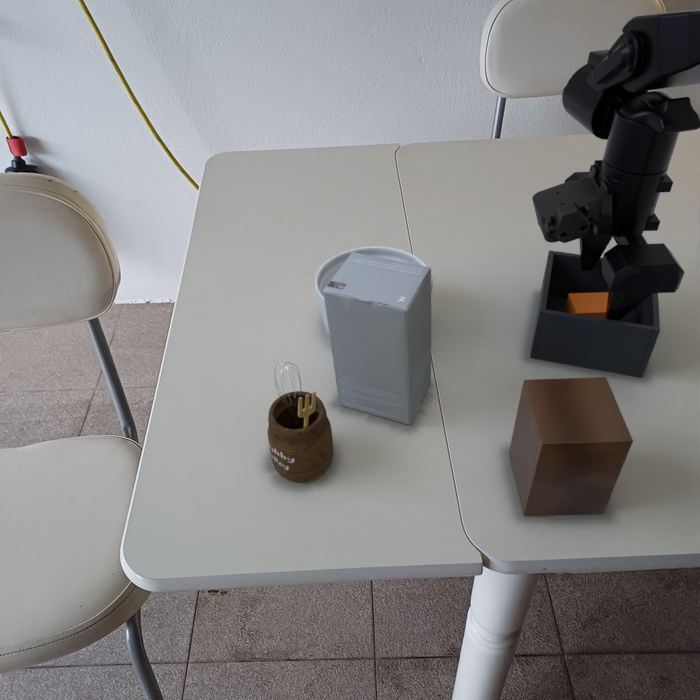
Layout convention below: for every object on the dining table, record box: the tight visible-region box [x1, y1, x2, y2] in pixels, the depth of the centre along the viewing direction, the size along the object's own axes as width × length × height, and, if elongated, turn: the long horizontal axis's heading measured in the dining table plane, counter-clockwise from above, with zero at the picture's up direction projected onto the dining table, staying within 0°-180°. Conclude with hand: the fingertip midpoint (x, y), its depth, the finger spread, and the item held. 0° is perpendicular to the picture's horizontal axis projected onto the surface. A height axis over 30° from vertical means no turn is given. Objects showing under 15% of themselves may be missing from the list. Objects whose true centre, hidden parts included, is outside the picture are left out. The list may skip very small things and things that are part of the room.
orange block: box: [564, 292, 620, 321], centre depth 72 cm, size 5×4×4 cm
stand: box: [508, 376, 634, 517], centre depth 56 cm, size 7×7×10 cm
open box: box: [529, 250, 661, 378], centre depth 72 cm, size 12×12×7 cm
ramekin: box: [313, 245, 433, 336], centre depth 74 cm, size 13×13×7 cm
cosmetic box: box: [323, 252, 432, 425], centre depth 62 cm, size 8×7×16 cm
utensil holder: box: [267, 361, 334, 483], centre depth 58 cm, size 6×6×12 cm
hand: (598, 294), depth 70 cm, fingers open, 9 cm apart
